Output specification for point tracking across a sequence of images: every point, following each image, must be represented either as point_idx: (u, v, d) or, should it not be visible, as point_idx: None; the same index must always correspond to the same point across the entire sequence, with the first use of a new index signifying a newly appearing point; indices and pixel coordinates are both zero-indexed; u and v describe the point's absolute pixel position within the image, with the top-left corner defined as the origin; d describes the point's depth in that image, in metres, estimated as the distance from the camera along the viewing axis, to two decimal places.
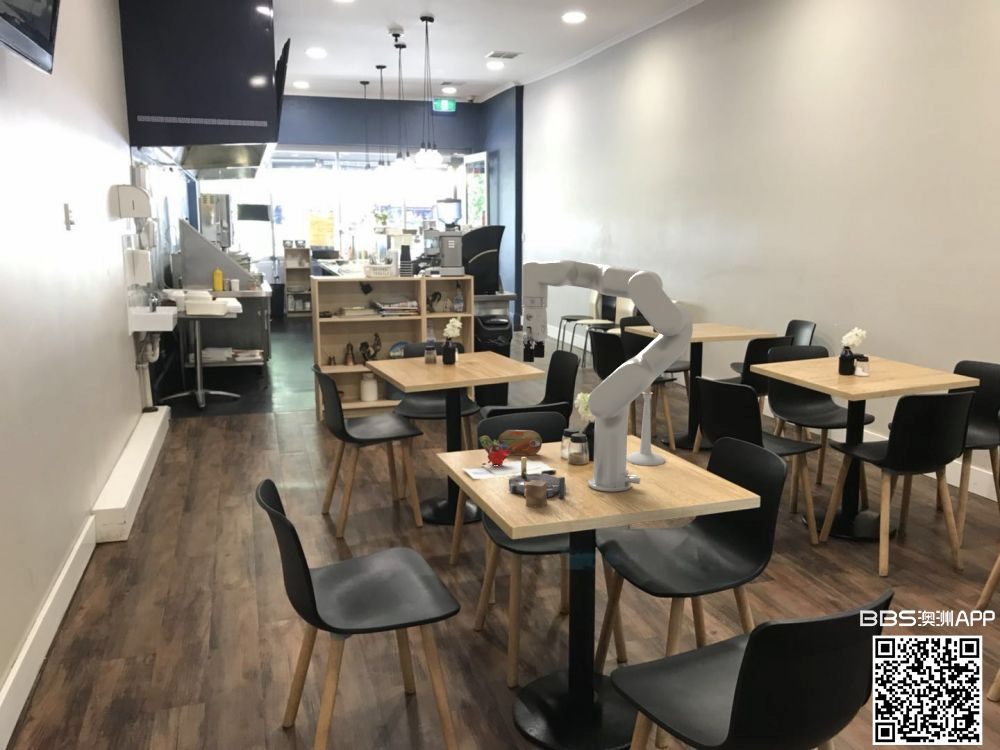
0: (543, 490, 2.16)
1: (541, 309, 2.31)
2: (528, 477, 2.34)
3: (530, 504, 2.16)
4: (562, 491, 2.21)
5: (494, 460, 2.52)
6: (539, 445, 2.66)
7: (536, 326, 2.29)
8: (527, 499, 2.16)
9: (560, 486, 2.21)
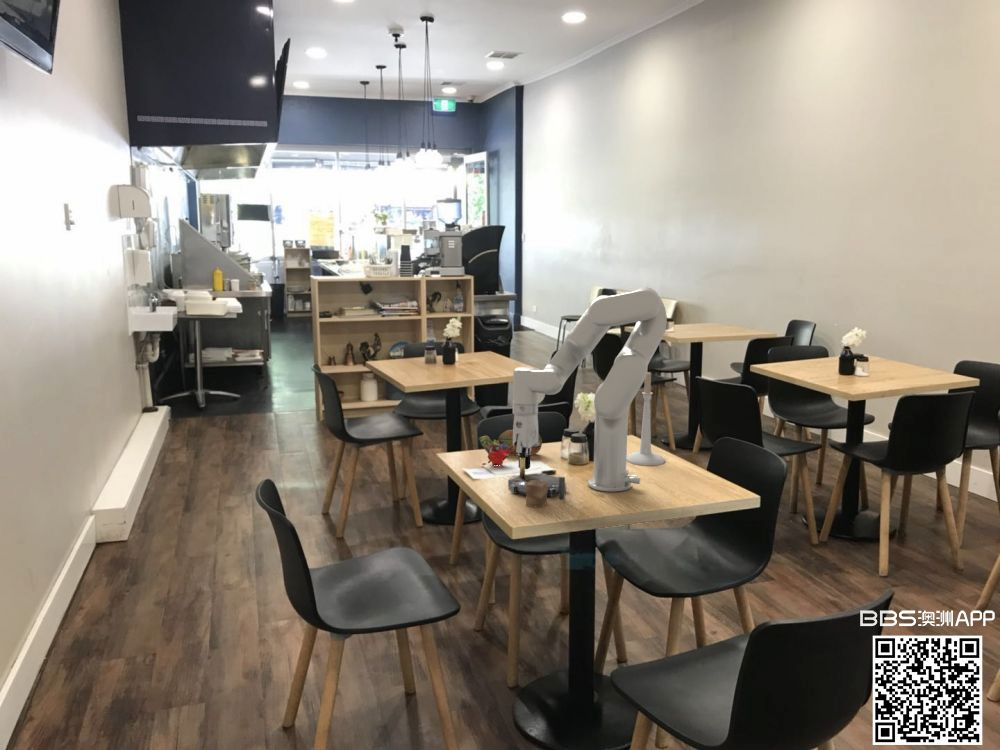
0: (543, 490, 2.16)
1: (531, 416, 2.32)
2: (527, 478, 2.33)
3: (530, 504, 2.16)
4: (562, 491, 2.21)
5: (494, 460, 2.52)
6: (539, 445, 2.66)
7: (526, 434, 2.30)
8: (527, 499, 2.16)
9: (560, 486, 2.21)
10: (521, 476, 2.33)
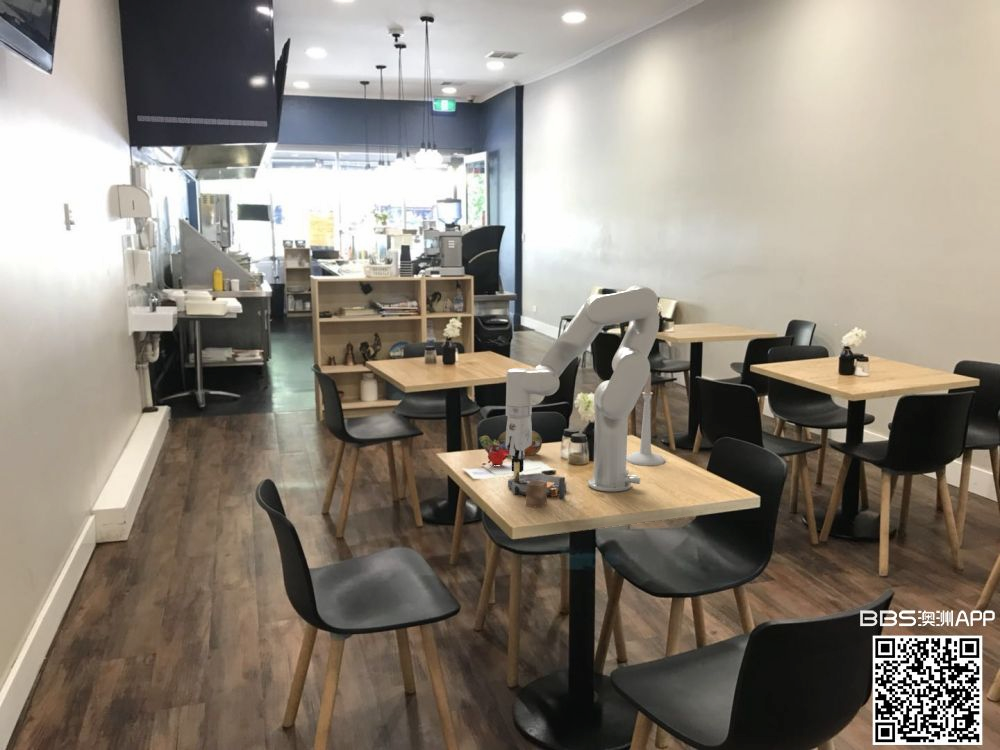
0: (543, 490, 2.16)
1: (524, 418, 2.27)
2: (521, 481, 2.30)
3: (530, 504, 2.16)
4: (562, 491, 2.21)
5: (494, 460, 2.52)
6: (539, 445, 2.66)
7: (519, 436, 2.25)
8: (527, 499, 2.16)
9: (560, 486, 2.21)
10: (517, 481, 2.29)
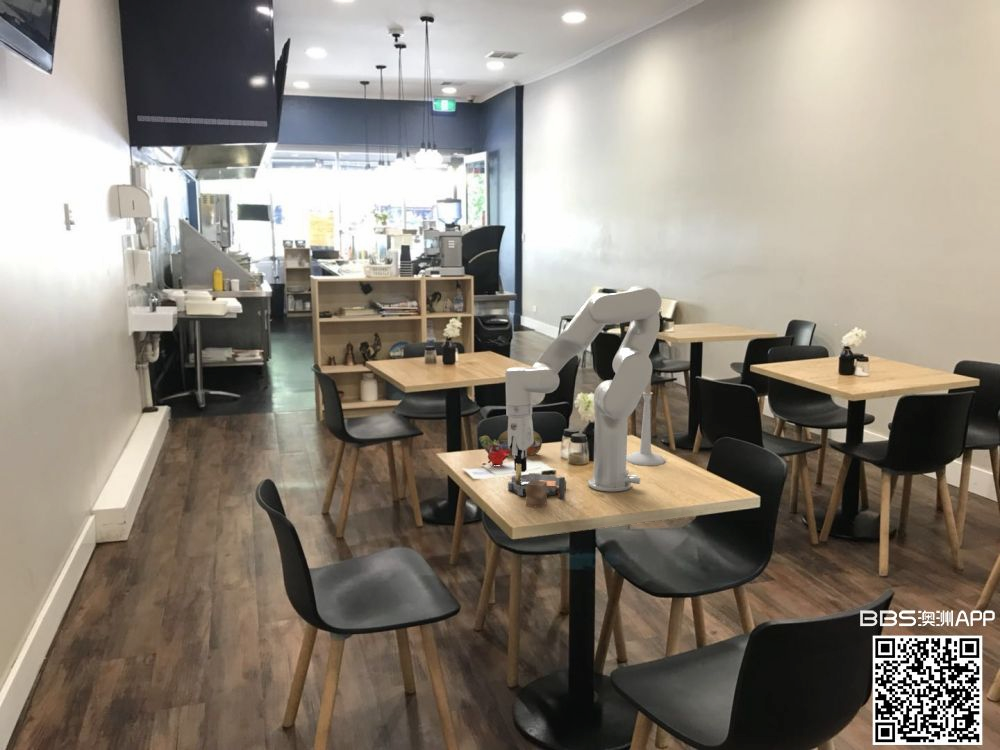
0: (543, 490, 2.16)
1: (525, 417, 2.26)
2: (522, 482, 2.29)
3: (530, 504, 2.16)
4: (562, 491, 2.21)
5: (494, 460, 2.52)
6: (539, 445, 2.66)
7: (521, 436, 2.24)
8: (527, 499, 2.16)
9: (560, 486, 2.21)
10: (520, 482, 2.27)
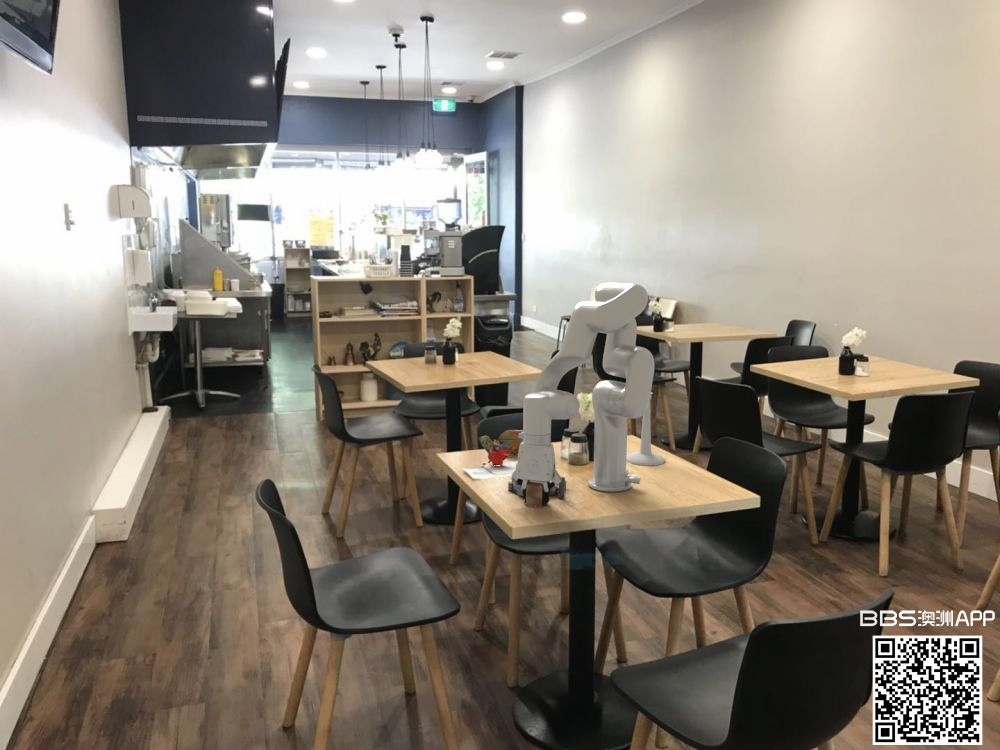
0: (543, 490, 2.16)
1: (527, 446, 2.13)
2: None
3: (530, 504, 2.16)
4: (562, 491, 2.21)
5: (494, 460, 2.52)
6: None
7: (517, 462, 2.15)
8: (527, 499, 2.16)
9: (560, 486, 2.21)
10: None
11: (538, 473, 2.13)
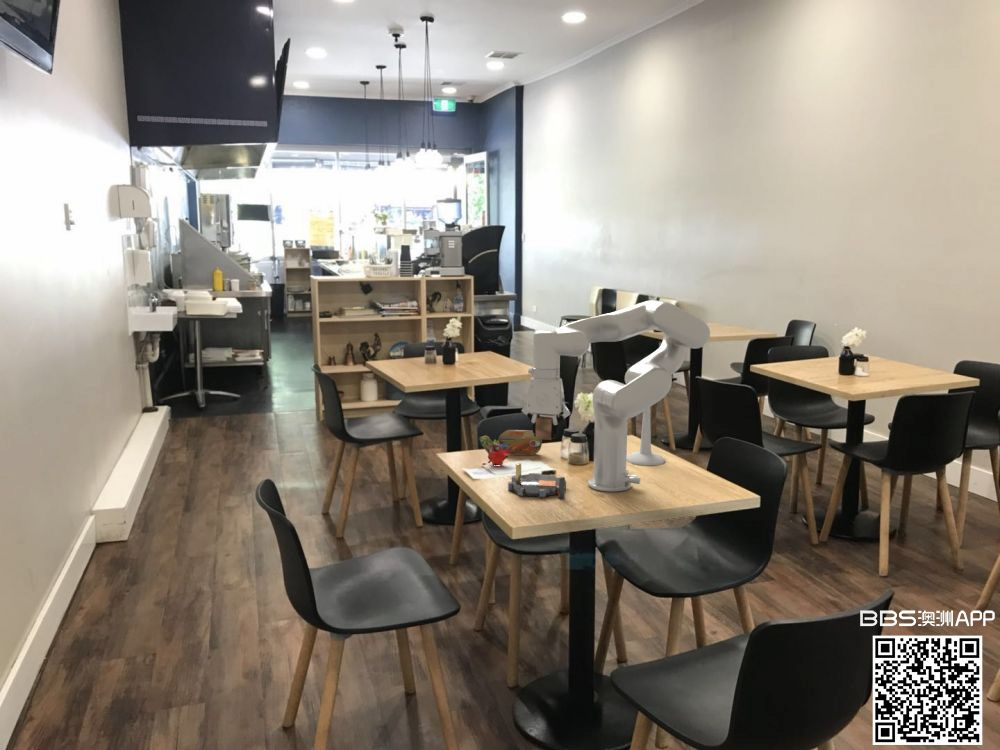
0: (552, 423, 2.23)
1: (537, 381, 2.20)
2: (522, 482, 2.29)
3: (539, 437, 2.23)
4: (562, 491, 2.21)
5: (494, 460, 2.52)
6: (539, 445, 2.66)
7: (527, 396, 2.23)
8: (536, 432, 2.23)
9: (560, 486, 2.21)
10: (520, 482, 2.27)
11: (547, 406, 2.20)
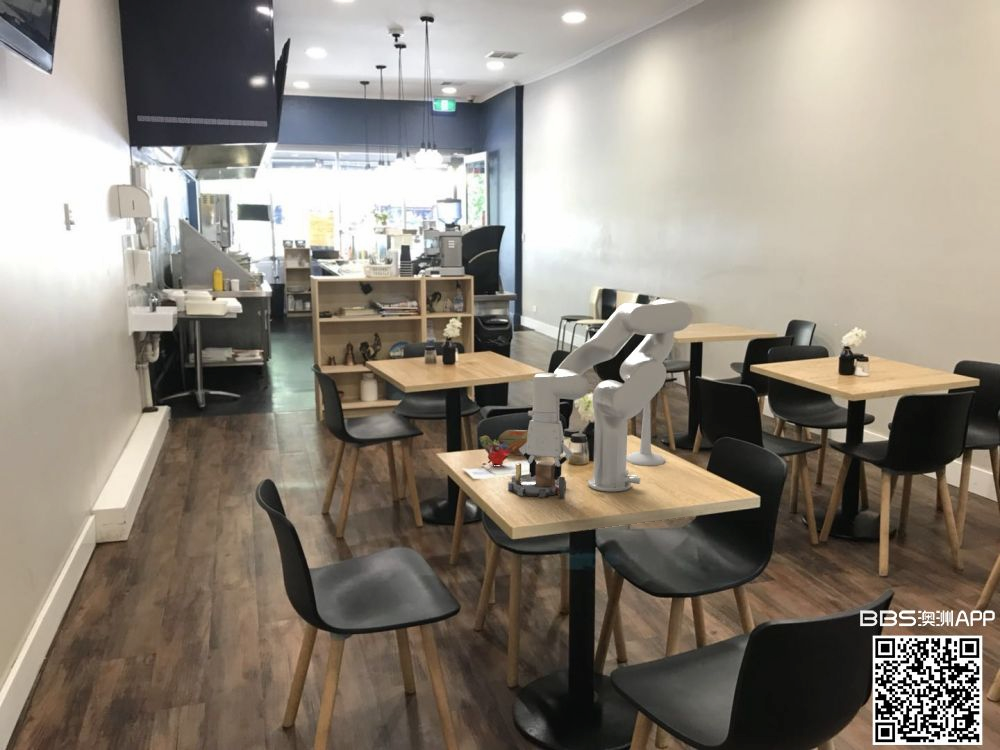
0: (552, 470, 2.25)
1: (537, 423, 2.22)
2: (522, 482, 2.29)
3: (539, 484, 2.25)
4: (562, 491, 2.21)
5: (494, 460, 2.52)
6: None
7: (527, 439, 2.25)
8: (536, 479, 2.26)
9: (560, 486, 2.21)
10: (520, 482, 2.27)
11: (547, 449, 2.22)
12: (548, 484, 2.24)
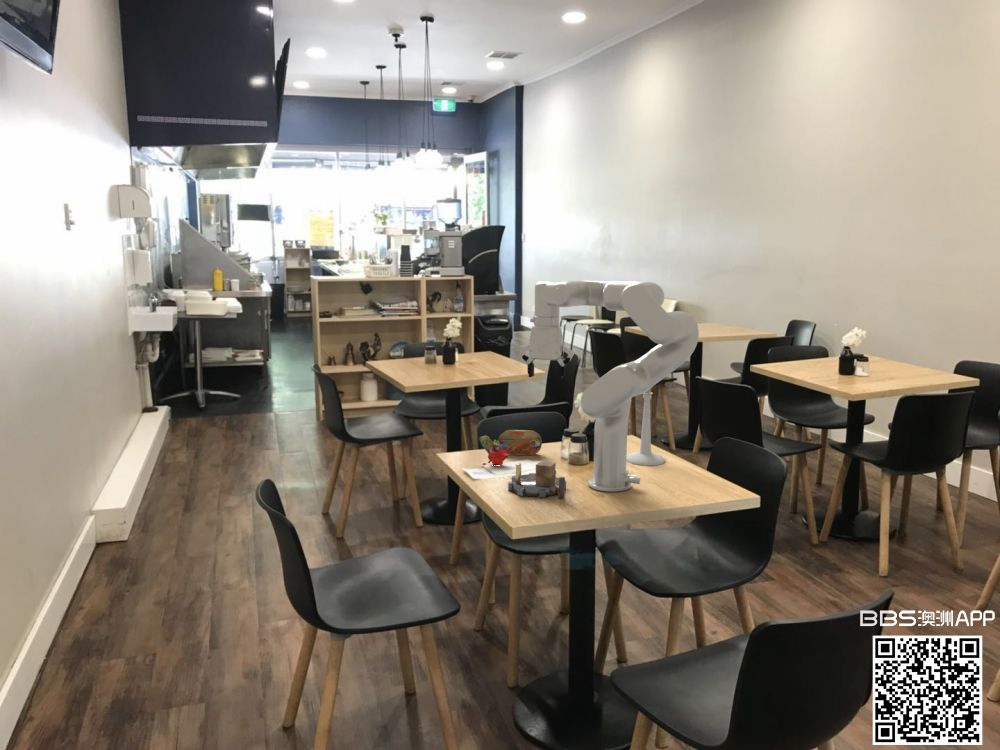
0: (552, 470, 2.25)
1: (538, 328, 2.38)
2: (522, 482, 2.29)
3: (539, 484, 2.25)
4: (562, 491, 2.21)
5: (494, 460, 2.52)
6: (539, 445, 2.66)
7: (529, 343, 2.40)
8: (536, 479, 2.26)
9: (560, 486, 2.21)
10: (520, 482, 2.27)
11: (548, 352, 2.38)
12: (548, 484, 2.24)
